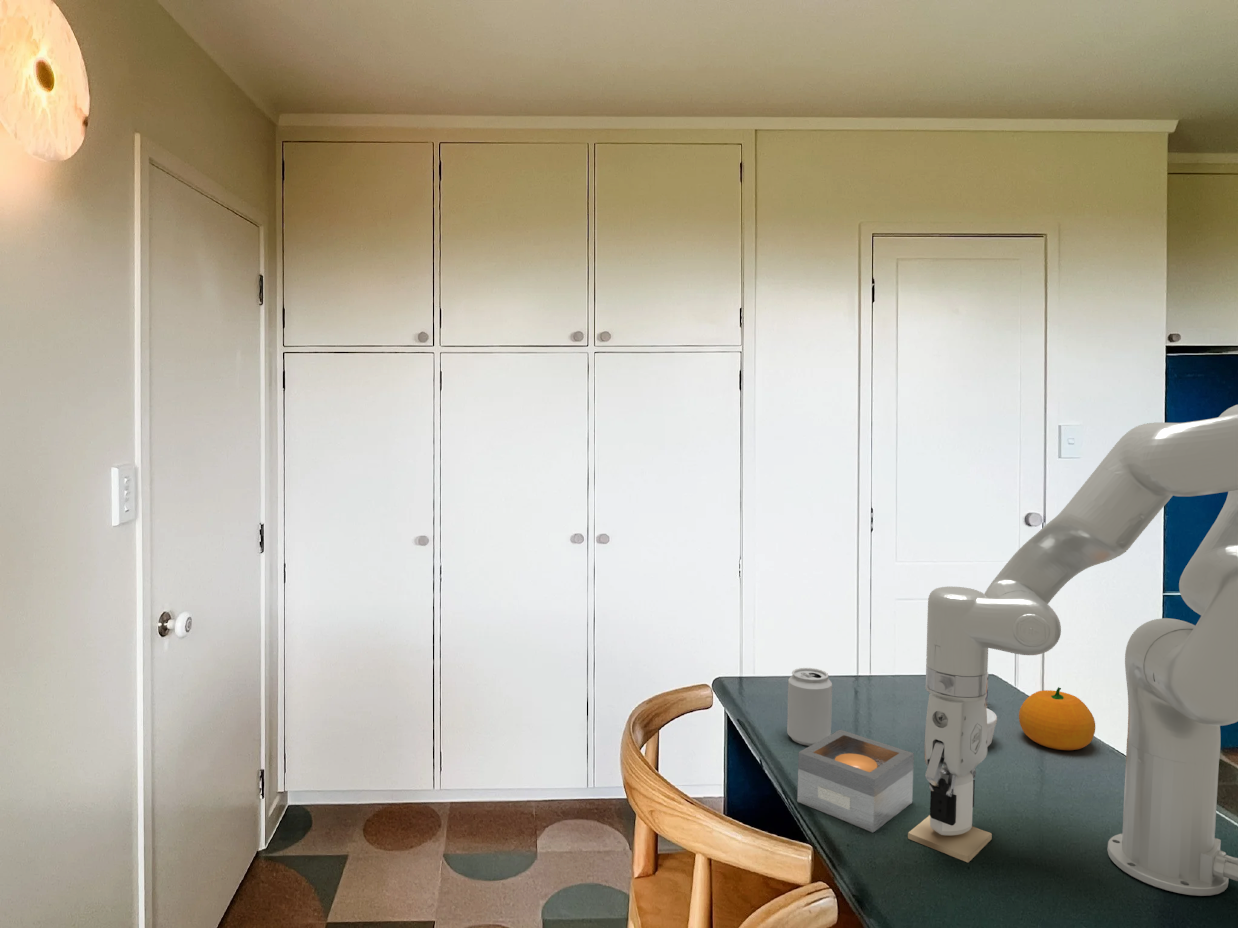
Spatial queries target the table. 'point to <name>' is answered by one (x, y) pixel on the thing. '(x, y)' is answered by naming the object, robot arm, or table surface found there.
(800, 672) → the can
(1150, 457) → the robot arm
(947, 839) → the coaster
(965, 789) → the eye dropper bottle
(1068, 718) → the fruit
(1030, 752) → the table surface
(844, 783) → the grey box
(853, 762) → the button
